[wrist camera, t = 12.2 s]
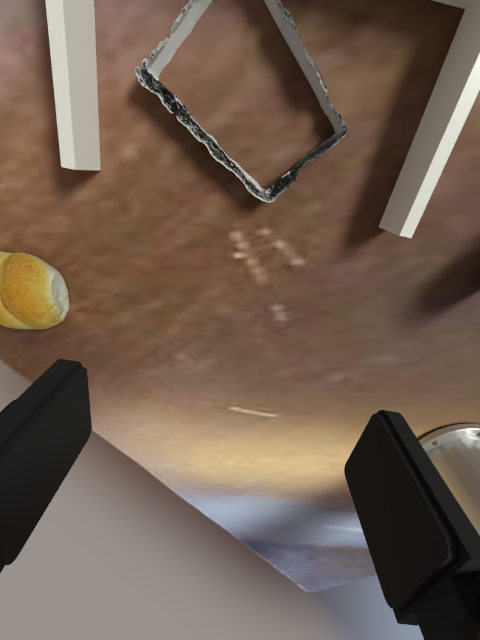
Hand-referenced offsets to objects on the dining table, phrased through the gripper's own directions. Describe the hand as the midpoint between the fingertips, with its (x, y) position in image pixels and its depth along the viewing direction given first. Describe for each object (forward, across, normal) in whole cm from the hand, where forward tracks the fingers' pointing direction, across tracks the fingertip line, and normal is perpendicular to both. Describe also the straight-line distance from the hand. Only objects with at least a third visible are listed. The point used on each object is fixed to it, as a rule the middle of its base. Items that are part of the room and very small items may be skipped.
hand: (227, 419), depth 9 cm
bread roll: (+21, +21, +7) cm, 30 cm away
